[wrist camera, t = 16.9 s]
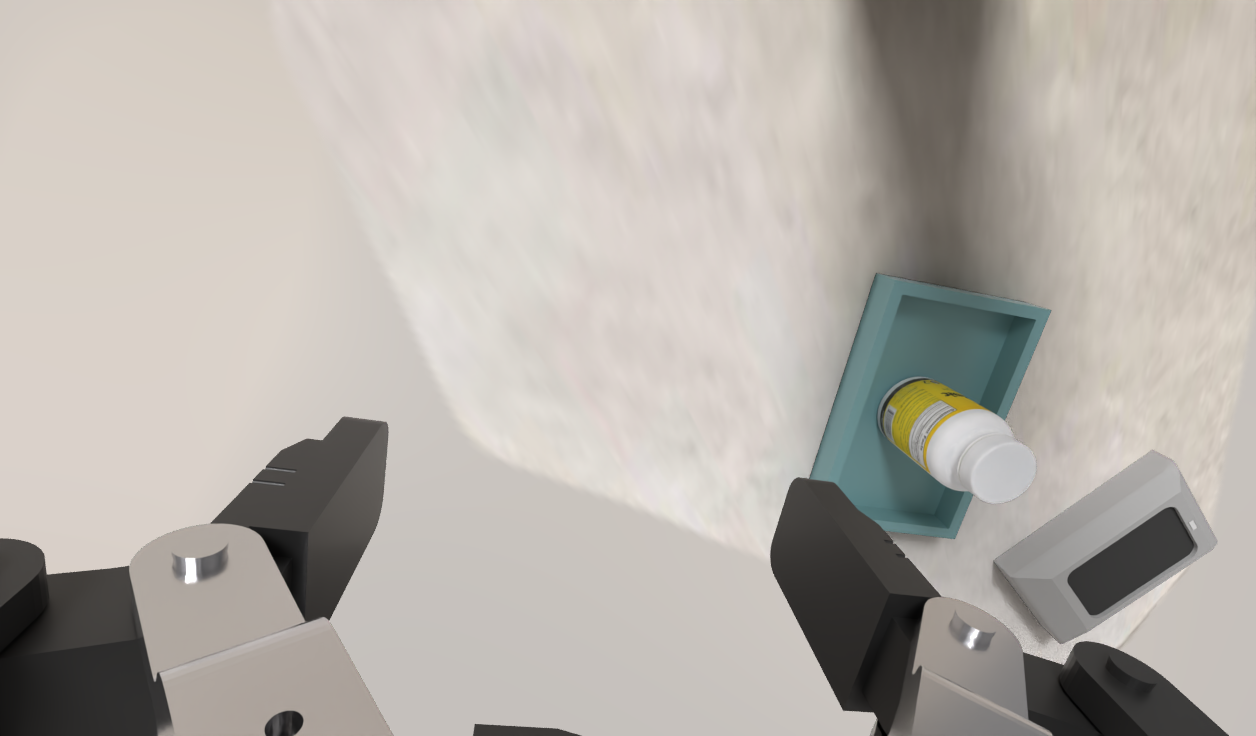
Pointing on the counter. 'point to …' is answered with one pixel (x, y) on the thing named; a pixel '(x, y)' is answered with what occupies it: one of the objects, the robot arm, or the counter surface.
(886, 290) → the tray
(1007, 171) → the counter surface
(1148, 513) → the gray beveled slab
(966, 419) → the supplement bottle
